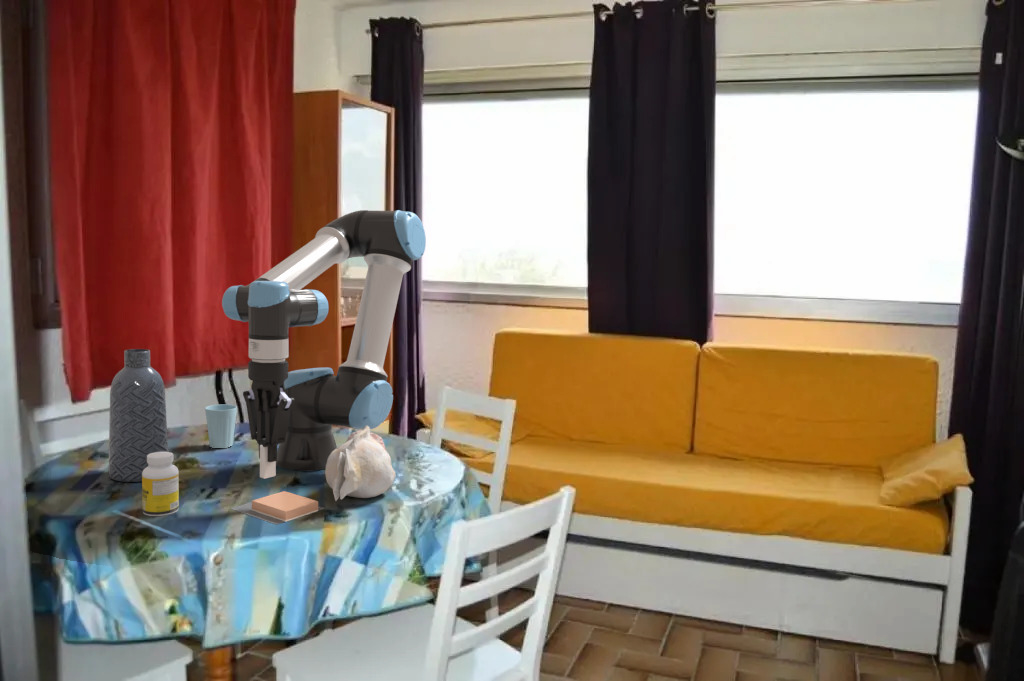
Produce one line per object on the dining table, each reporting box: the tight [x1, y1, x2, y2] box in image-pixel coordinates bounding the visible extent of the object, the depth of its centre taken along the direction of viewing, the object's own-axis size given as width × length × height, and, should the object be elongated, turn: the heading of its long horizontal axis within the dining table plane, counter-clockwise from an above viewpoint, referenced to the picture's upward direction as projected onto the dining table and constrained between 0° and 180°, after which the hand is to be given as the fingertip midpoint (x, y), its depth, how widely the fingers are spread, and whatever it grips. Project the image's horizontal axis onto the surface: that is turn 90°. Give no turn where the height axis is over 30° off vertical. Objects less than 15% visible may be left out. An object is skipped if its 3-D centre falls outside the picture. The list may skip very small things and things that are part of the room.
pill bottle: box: [141, 451, 180, 517], centre depth 150 cm, size 6×6×12 cm
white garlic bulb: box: [324, 425, 397, 502], centre depth 164 cm, size 16×19×15 cm
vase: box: [108, 348, 169, 483], centre depth 173 cm, size 12×12×28 cm
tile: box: [251, 490, 319, 523], centre depth 153 cm, size 2×8×10 cm
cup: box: [204, 403, 238, 449], centre depth 200 cm, size 8×8×10 cm
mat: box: [229, 501, 326, 526], centre depth 154 cm, size 14×12×1 cm
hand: (267, 476), depth 155 cm, fingers closed
